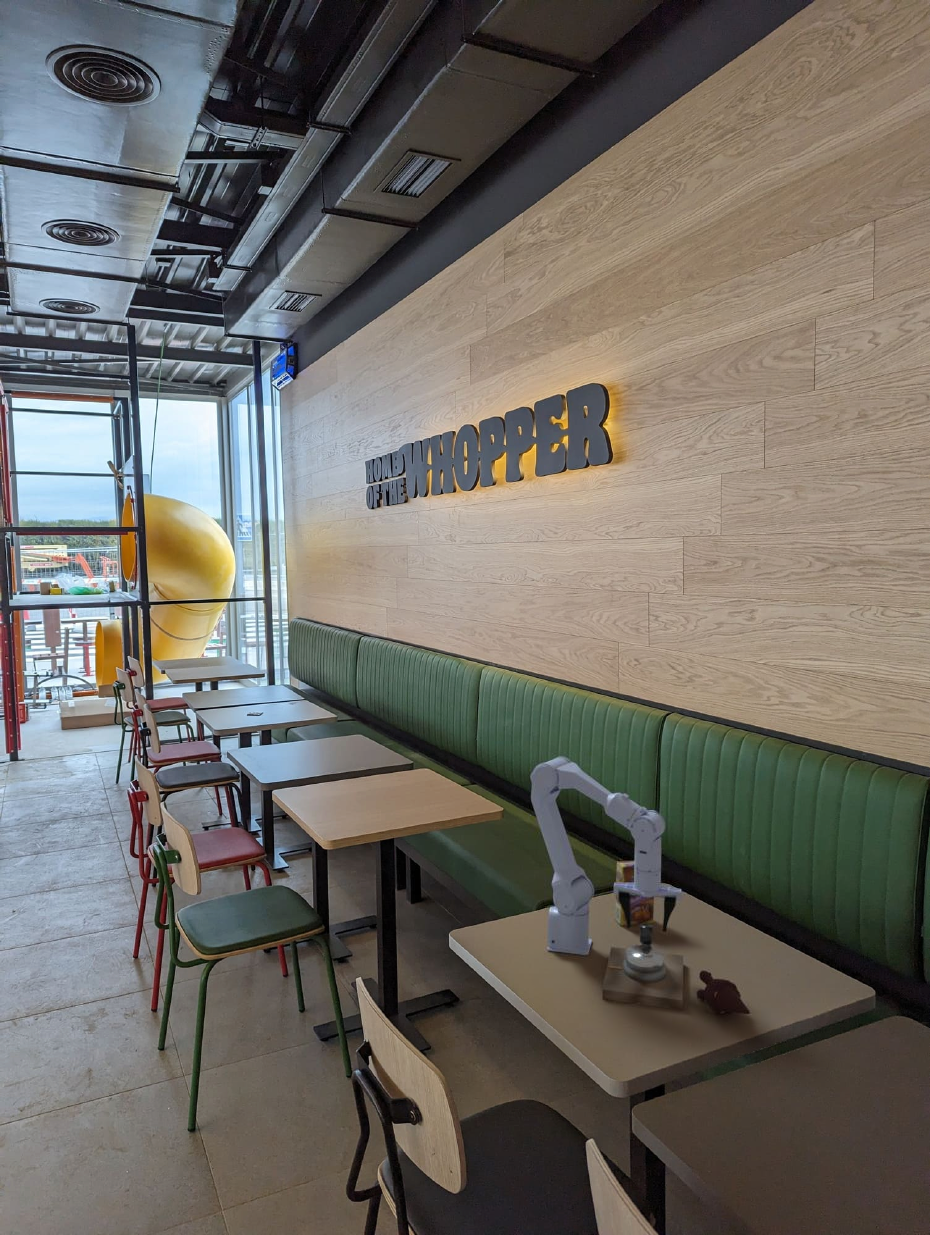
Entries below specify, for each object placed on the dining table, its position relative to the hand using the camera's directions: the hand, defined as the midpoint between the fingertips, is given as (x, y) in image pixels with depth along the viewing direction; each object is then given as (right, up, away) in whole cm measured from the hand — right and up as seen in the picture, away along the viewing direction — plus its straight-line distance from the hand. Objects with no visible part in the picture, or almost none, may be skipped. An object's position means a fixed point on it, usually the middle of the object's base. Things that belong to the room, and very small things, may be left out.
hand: (646, 927), depth 184 cm
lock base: (-2, -9, -5) cm, 11 cm away
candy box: (+2, -8, +25) cm, 26 cm away
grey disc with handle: (-1, -6, -4) cm, 7 cm away
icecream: (+11, -11, -18) cm, 24 cm away
